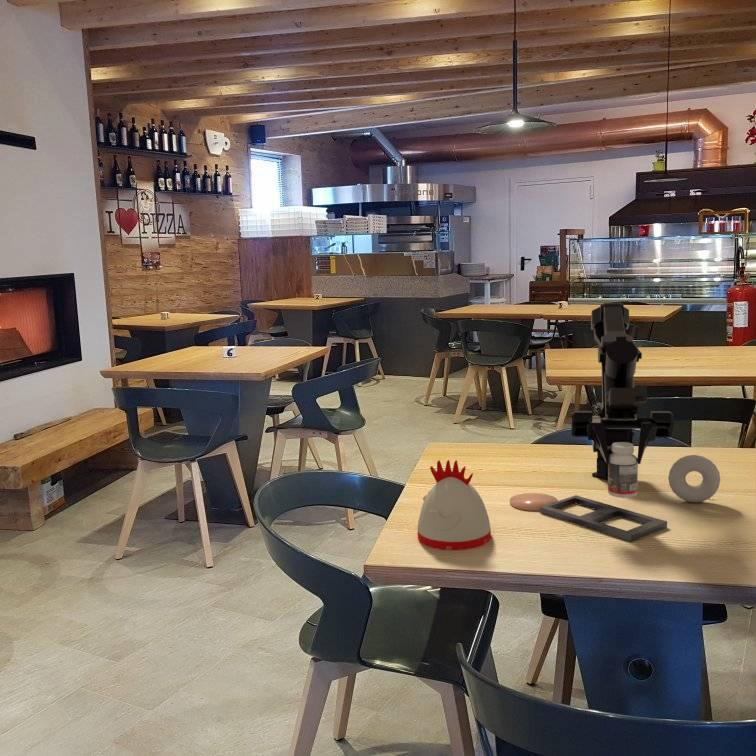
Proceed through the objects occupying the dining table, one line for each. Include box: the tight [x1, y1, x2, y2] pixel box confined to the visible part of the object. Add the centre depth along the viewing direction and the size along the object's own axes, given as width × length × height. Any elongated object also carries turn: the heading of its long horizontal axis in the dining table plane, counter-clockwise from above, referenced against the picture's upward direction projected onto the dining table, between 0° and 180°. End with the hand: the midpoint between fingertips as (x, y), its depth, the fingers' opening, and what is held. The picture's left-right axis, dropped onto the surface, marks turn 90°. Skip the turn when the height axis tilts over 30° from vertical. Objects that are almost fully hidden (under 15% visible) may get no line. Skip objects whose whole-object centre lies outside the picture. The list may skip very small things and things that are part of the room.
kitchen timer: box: [417, 459, 492, 551], centre depth 151 cm, size 14×14×15 cm
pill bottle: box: [607, 442, 639, 499], centre depth 151 cm, size 5×5×10 cm
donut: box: [667, 454, 721, 504], centre depth 164 cm, size 10×4×10 cm, turn 74°
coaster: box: [509, 492, 559, 512], centre depth 169 cm, size 10×10×1 cm
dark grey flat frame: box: [539, 494, 668, 543], centre depth 157 cm, size 11×22×1 cm, turn 36°
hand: (623, 462), depth 150 cm, fingers closed on pill bottle, 5 cm apart
